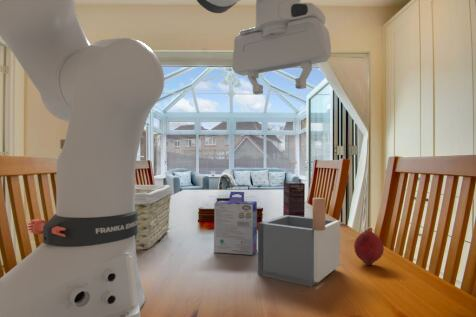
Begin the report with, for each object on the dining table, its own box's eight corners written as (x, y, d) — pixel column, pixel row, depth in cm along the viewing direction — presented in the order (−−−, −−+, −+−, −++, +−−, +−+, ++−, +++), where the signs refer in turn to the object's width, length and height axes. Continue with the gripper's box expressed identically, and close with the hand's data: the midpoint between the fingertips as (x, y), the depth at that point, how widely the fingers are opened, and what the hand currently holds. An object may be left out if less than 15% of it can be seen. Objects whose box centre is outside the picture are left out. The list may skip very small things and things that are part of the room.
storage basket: (150, 252, 80) (150, 191, 80) (84, 251, 81) (84, 191, 81) (172, 231, 104) (173, 184, 104) (121, 231, 105) (122, 184, 105)
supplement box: (305, 238, 94) (305, 183, 94) (288, 239, 94) (288, 183, 94) (298, 232, 103) (298, 181, 103) (282, 232, 102) (282, 181, 103)
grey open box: (311, 286, 58) (311, 230, 58) (257, 274, 64) (258, 223, 64) (334, 268, 68) (334, 220, 68) (285, 259, 74) (285, 215, 74)
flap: (322, 283, 57) (322, 199, 57) (310, 280, 58) (310, 198, 59) (343, 265, 67) (343, 194, 67) (332, 263, 68) (332, 193, 68)
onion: (371, 271, 67) (371, 231, 67) (348, 263, 72) (348, 226, 72) (389, 266, 70) (389, 228, 70) (365, 259, 75) (365, 223, 75)
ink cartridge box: (257, 249, 82) (257, 191, 83) (253, 255, 77) (254, 193, 77) (219, 247, 85) (219, 190, 85) (213, 253, 79) (213, 192, 79)
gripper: (226, 27, 69) (226, 94, 69) (322, 1, 57) (322, 81, 57) (242, 37, 74) (243, 99, 74) (333, 14, 62) (334, 87, 62)
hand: (278, 91), depth 65 cm, fingers open, 8 cm apart
